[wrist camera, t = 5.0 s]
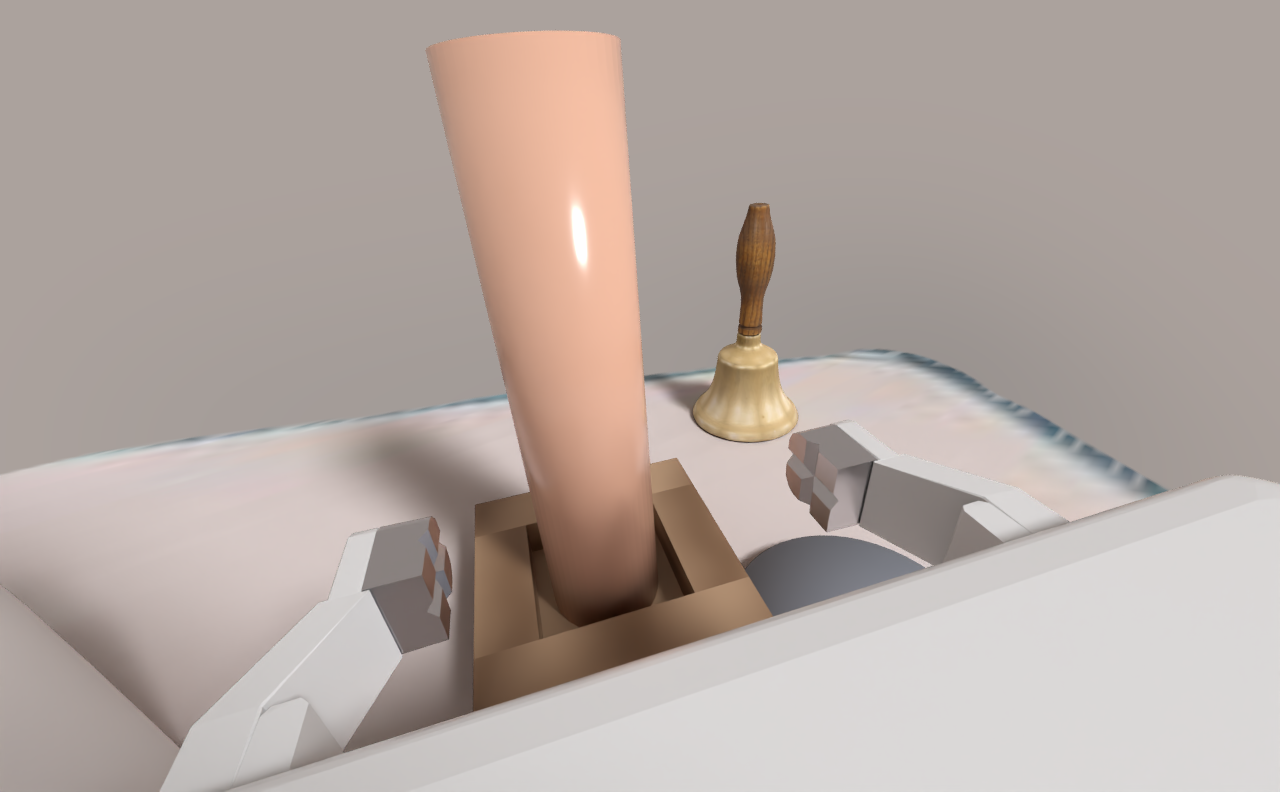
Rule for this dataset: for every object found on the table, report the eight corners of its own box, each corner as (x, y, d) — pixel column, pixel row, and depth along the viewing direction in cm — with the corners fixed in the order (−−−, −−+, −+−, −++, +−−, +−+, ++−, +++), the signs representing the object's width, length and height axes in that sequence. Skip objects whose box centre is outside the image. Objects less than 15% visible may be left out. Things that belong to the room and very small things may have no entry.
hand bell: (744, 379, 44) (753, 191, 36) (820, 416, 38) (851, 200, 30) (672, 410, 40) (665, 208, 32) (744, 457, 34) (757, 222, 26)
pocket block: (491, 768, 18) (472, 727, 17) (487, 543, 28) (475, 504, 27) (773, 670, 21) (779, 626, 19) (677, 495, 31) (676, 457, 30)
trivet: (681, 647, 22) (680, 633, 22) (804, 519, 29) (806, 506, 28) (946, 877, 15) (953, 864, 15) (1030, 637, 22) (1038, 623, 21)
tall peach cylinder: (534, 585, 24) (394, 58, 13) (611, 529, 27) (549, 60, 16) (600, 654, 21) (487, 25, 10) (679, 581, 24) (659, 36, 13)
